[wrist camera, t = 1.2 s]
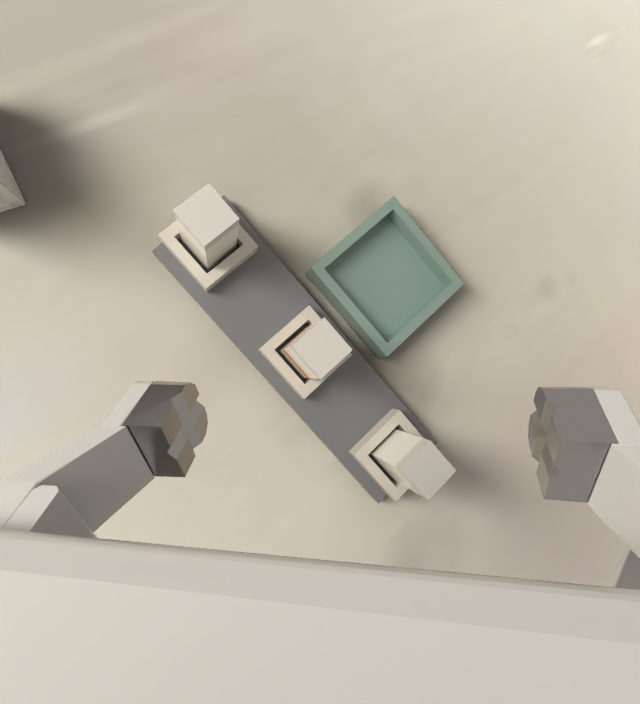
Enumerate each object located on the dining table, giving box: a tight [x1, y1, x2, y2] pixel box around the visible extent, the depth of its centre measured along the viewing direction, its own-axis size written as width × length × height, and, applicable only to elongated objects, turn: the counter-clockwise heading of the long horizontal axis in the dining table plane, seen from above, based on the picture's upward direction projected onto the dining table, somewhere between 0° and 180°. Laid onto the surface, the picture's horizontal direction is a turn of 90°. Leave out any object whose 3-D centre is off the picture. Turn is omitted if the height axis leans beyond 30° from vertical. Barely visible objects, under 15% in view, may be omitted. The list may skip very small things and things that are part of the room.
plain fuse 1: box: [173, 183, 239, 272], centre depth 39 cm, size 4×4×9 cm
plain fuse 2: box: [370, 429, 456, 501], centre depth 42 cm, size 4×4×9 cm
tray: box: [305, 196, 464, 358], centre depth 47 cm, size 12×12×3 cm
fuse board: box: [153, 196, 437, 503], centre depth 45 cm, size 9×34×4 cm, turn 42°
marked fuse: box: [279, 317, 352, 379], centre depth 41 cm, size 4×4×9 cm
